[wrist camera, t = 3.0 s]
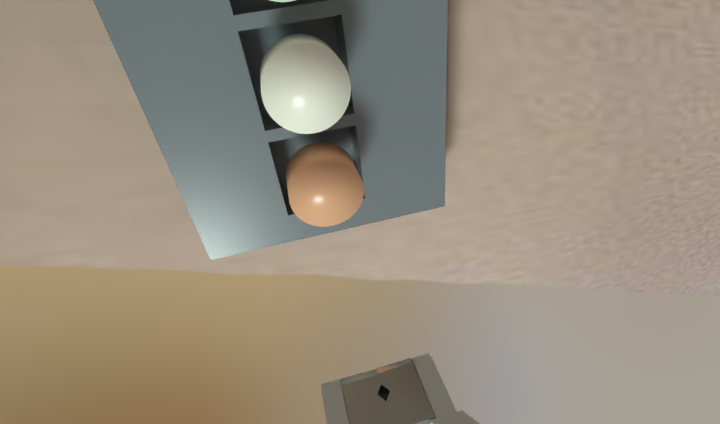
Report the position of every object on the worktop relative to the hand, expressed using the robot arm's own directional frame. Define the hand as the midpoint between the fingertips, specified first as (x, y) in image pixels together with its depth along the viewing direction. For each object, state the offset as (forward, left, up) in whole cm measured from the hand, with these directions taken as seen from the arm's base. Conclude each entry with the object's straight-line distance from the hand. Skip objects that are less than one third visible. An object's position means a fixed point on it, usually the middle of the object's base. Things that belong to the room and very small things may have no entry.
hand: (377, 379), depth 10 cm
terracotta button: (0, 0, -12) cm, 12 cm away
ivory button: (0, -5, -12) cm, 13 cm away
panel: (0, -5, -15) cm, 16 cm away
